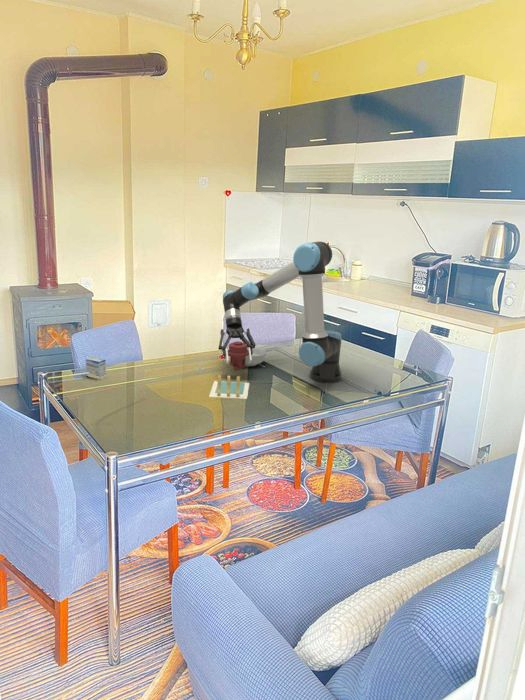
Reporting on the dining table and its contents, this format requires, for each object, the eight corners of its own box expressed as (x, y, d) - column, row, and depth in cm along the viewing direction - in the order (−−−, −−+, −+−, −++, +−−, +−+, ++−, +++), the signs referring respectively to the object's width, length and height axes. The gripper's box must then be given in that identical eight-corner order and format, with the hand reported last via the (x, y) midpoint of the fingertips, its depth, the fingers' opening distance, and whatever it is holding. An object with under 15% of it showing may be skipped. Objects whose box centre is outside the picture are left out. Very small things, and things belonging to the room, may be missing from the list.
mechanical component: (250, 365, 243) (245, 372, 233) (230, 363, 245) (224, 370, 235) (251, 340, 239) (246, 346, 230) (230, 338, 241) (224, 344, 232)
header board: (249, 384, 233) (249, 382, 233) (246, 401, 215) (246, 398, 215) (214, 382, 233) (214, 380, 233) (208, 398, 215) (208, 396, 215)
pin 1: (220, 394, 217) (221, 375, 215) (220, 396, 216) (220, 376, 213) (217, 394, 218) (217, 374, 215) (217, 396, 216) (217, 376, 214)
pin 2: (230, 395, 217) (230, 375, 215) (229, 396, 216) (230, 376, 213) (226, 395, 217) (227, 375, 215) (226, 396, 216) (227, 376, 213)
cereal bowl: (271, 363, 264) (272, 350, 262) (253, 371, 250) (254, 358, 248) (244, 356, 272) (244, 344, 270) (225, 364, 259) (225, 351, 257)
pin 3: (239, 396, 217) (240, 376, 215) (239, 397, 216) (240, 377, 213) (236, 395, 217) (236, 375, 215) (235, 397, 216) (236, 377, 213)
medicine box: (86, 377, 233) (85, 359, 231) (92, 374, 237) (91, 356, 235) (100, 380, 231) (99, 361, 228) (106, 377, 234) (105, 359, 232)
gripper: (255, 323, 251) (261, 364, 241) (209, 325, 246) (213, 366, 236) (257, 315, 245) (264, 356, 234) (210, 316, 239) (215, 358, 229)
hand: (239, 361), depth 235 cm, fingers closed on mechanical component, 10 cm apart
